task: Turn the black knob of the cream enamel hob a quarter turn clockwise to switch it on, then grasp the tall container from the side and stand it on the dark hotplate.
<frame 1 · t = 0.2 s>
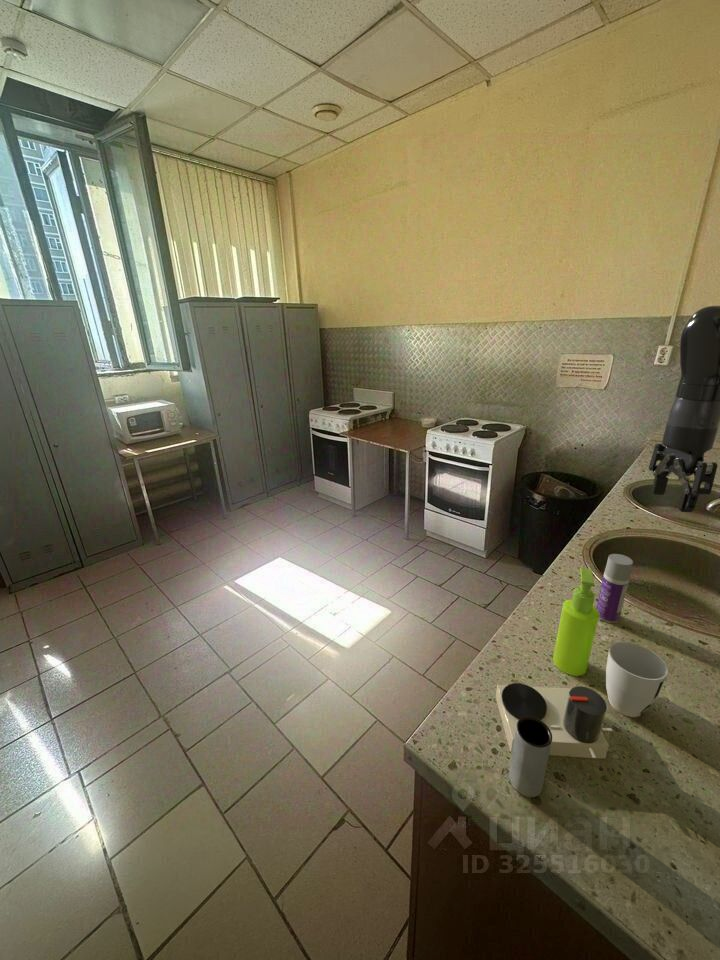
hand: (670, 502, 79), 28 cm above the counter, tool pointing down, fingers open, 8 cm apart
hob: (545, 725, 65), on the counter
planter: (525, 781, 57), on the counter
soap dispenser: (569, 662, 78), on the counter
hotplate: (523, 703, 66), resting on hob
container: (606, 616, 89), on the counter
cup: (624, 704, 69), on the counter
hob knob: (584, 713, 60), point 6 cm above the counter, hinge at 0.0°
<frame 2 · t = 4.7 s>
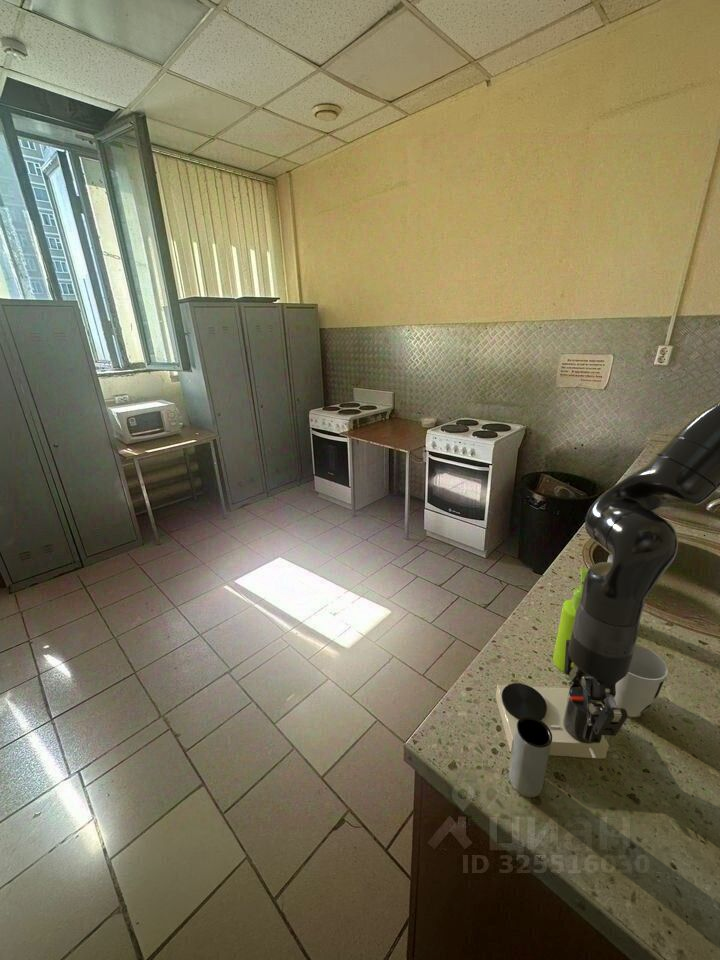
hand: (582, 721, 61), 4 cm above the counter, tool pointing down, fingers closed on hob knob, 5 cm apart
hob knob: (584, 713, 60), point 6 cm above the counter, hinge at 0.2°, touching gripper
everything else where it was.
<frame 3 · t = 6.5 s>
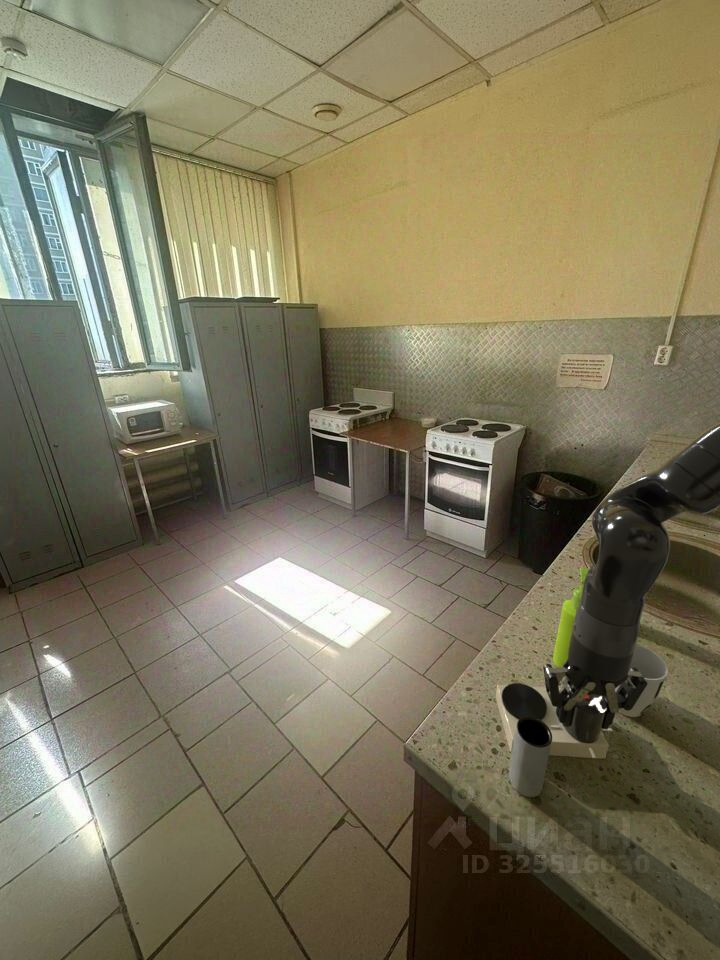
hand: (582, 722, 61), 4 cm above the counter, tool pointing down, fingers closed on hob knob, 5 cm apart
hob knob: (584, 713, 60), point 6 cm above the counter, hinge at -93.1°, touching gripper
everything else where it was.
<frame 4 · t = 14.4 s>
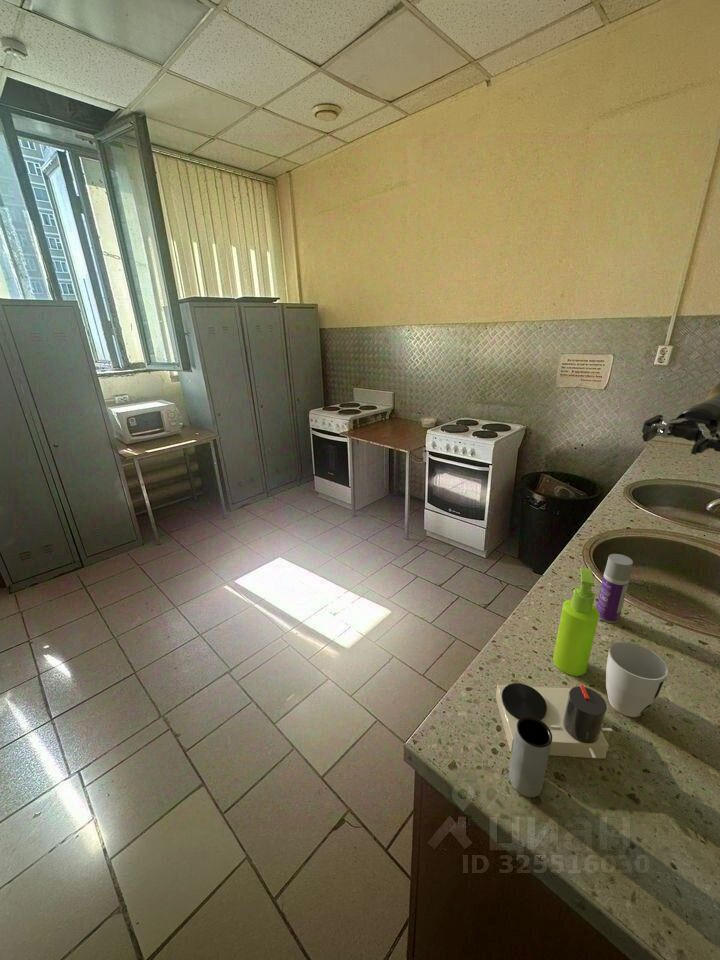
hand: (669, 443, 79), 39 cm above the counter, tool horizontal, fingers open, 8 cm apart
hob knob: (584, 713, 60), point 6 cm above the counter, hinge at -93.1°
everything else where it was.
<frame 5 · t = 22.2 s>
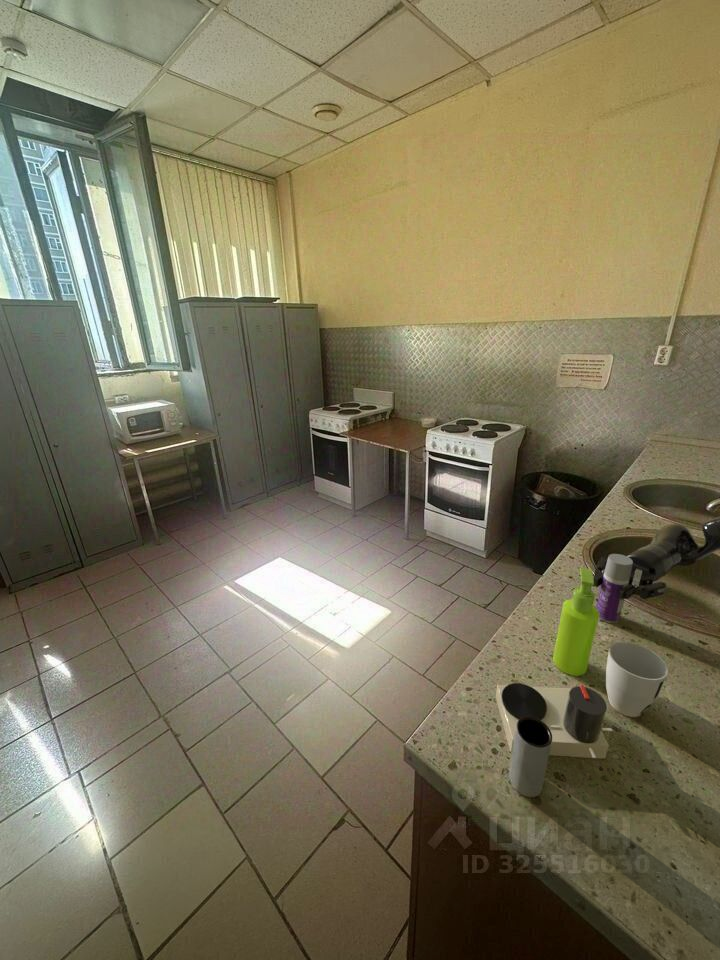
hand: (608, 588, 85), 9 cm above the counter, tool horizontal, fingers closed on container, 4 cm apart
container: (606, 616, 89), on the counter, touching gripper
everything else where it was.
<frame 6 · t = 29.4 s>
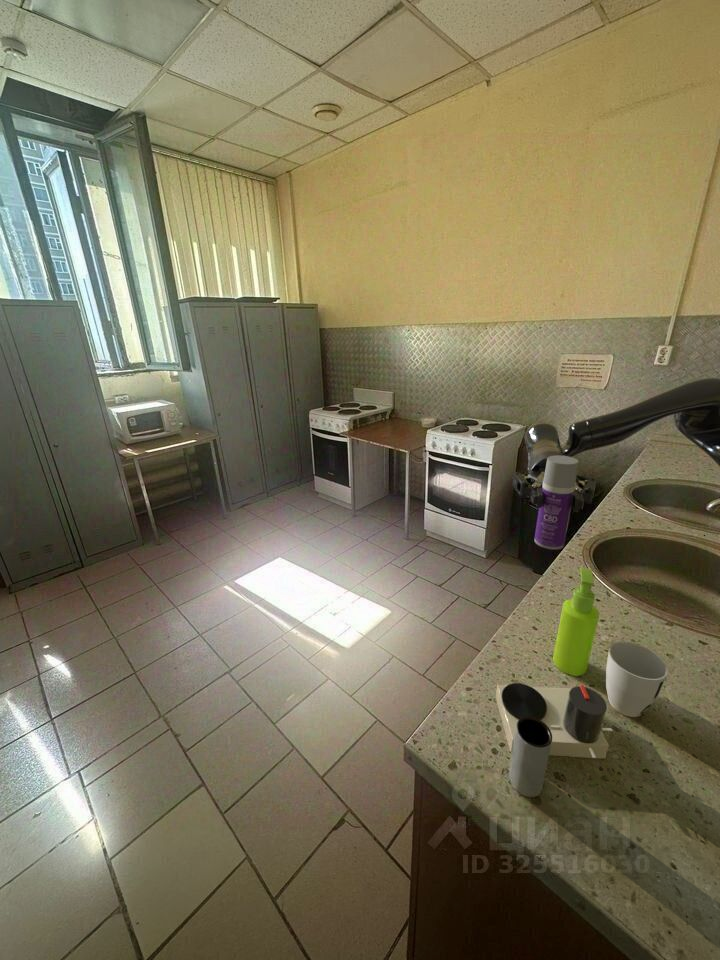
hand: (558, 504, 62), 36 cm above the counter, tool horizontal, fingers closed on container, 4 cm apart
container: (548, 543, 68), point 27 cm above the counter, touching gripper
everything else where it was.
when the fingers open (12 cm above the counter, at t = 36.4 s): container stays where it is, resting on hotplate.
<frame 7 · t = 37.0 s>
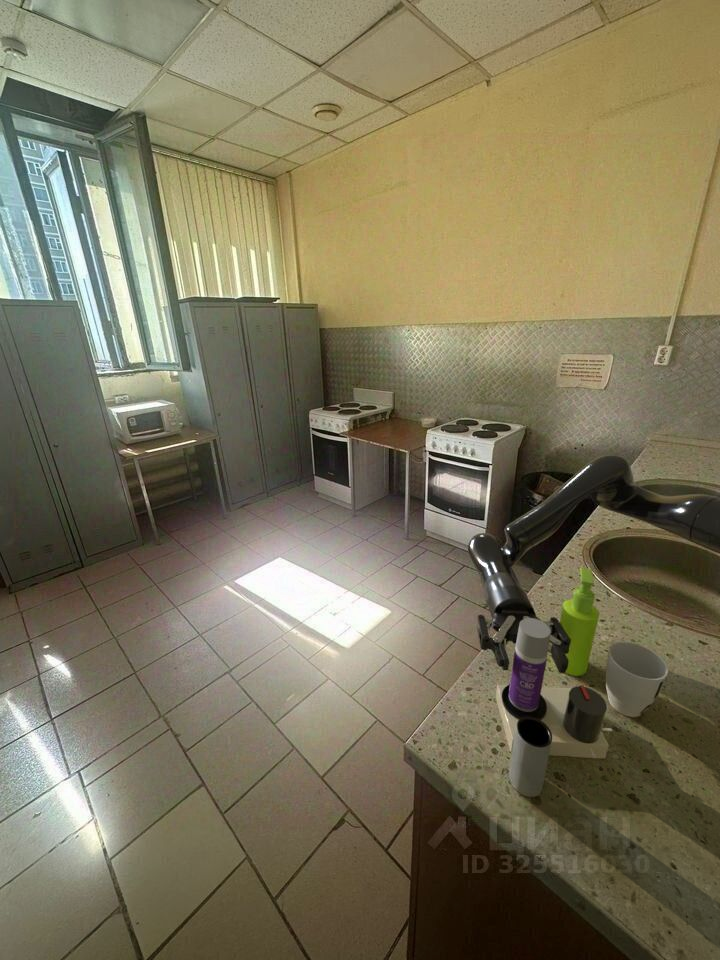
hand: (534, 667, 61), 13 cm above the counter, tool horizontal, fingers open, 8 cm apart
container: (523, 700, 66), point 3 cm above the counter, touching hotplate
everything else where it was.
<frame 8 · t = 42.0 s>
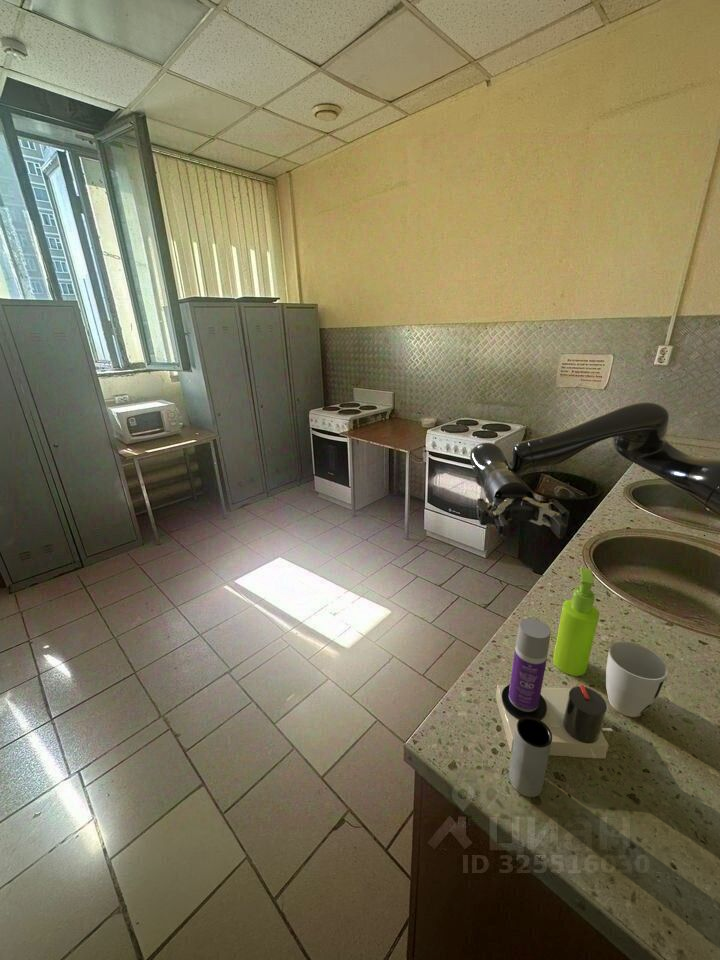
hand: (533, 532, 61), 32 cm above the counter, tool horizontal, fingers open, 8 cm apart
nothing on the counter moved.
at the end: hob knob at -93° (first picture: +0°); container inside the target area on the hob (0.2 cm from its centre), point 3.4 cm above the hob's base; container tilted 0° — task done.
